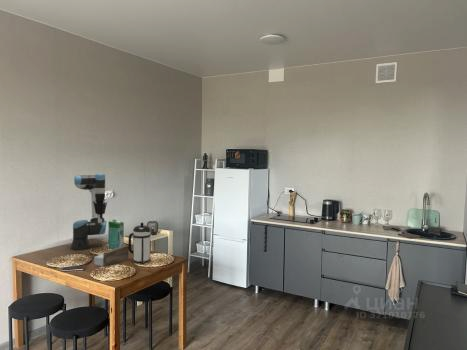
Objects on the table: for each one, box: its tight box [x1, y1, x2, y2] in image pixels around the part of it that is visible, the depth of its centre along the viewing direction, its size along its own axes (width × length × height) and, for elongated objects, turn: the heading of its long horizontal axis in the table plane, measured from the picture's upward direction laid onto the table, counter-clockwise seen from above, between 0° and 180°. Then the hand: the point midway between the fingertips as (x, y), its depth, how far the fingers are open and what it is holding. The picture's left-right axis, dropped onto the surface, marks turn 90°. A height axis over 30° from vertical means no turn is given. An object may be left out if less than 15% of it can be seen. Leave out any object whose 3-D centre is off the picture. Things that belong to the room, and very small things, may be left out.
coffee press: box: [128, 222, 152, 264], centre depth 265 cm, size 17×16×30 cm
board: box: [102, 245, 129, 267], centre depth 262 cm, size 4×22×10 cm, turn 156°
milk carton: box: [107, 219, 125, 249], centre depth 295 cm, size 9×9×25 cm
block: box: [93, 253, 104, 267], centre depth 259 cm, size 8×10×6 cm
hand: (100, 222), depth 278 cm, fingers closed
